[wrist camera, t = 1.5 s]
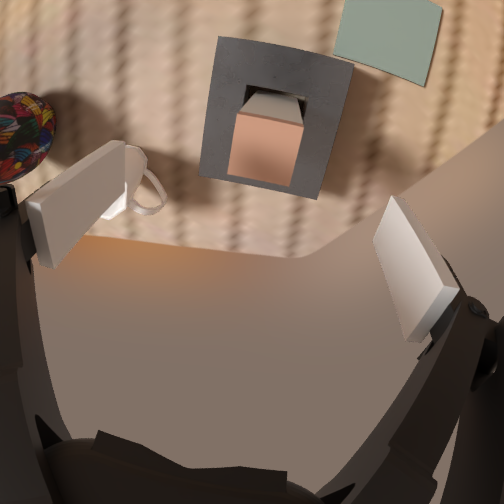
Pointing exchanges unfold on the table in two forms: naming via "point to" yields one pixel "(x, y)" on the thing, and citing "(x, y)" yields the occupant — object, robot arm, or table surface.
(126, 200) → the cup
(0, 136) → the egg
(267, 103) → the plug
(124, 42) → the table surface
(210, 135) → the grey square holder
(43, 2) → the table surface
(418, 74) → the mat
